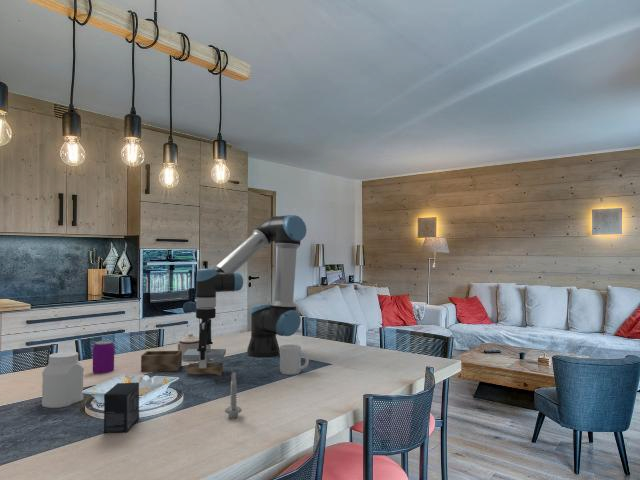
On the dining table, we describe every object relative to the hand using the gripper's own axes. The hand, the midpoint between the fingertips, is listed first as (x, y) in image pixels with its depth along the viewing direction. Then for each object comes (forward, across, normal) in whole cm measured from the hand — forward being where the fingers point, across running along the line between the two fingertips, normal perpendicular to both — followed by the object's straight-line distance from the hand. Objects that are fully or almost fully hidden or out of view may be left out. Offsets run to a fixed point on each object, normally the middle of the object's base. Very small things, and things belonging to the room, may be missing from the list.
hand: (204, 364), depth 180 cm
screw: (+4, +48, +15) cm, 50 cm away
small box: (+4, +52, -15) cm, 54 cm away
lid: (-3, 0, 0) cm, 3 cm away
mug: (+4, +1, +35) cm, 35 cm away
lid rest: (+4, 0, 0) cm, 4 cm away
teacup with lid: (+4, -24, -11) cm, 27 cm away
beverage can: (+4, -5, -40) cm, 40 cm away
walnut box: (+4, -7, -18) cm, 19 cm away
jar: (+4, +30, -40) cm, 50 cm away
